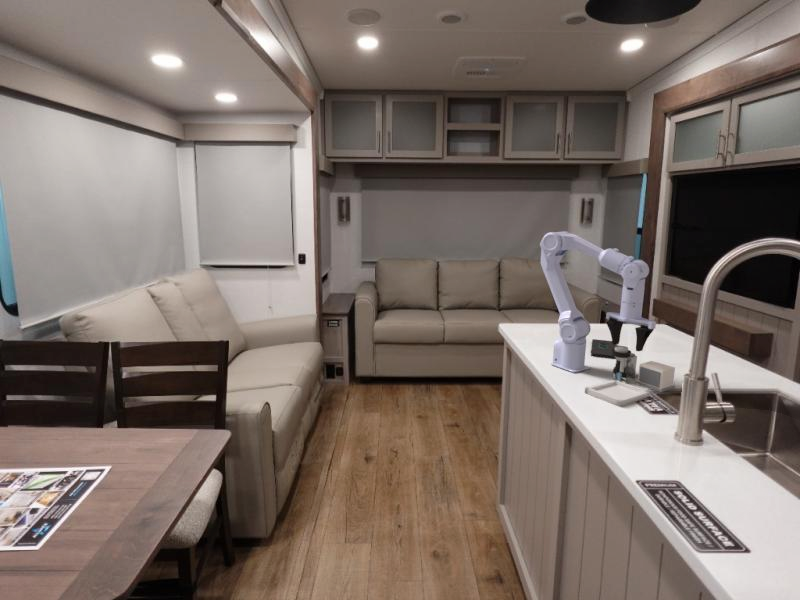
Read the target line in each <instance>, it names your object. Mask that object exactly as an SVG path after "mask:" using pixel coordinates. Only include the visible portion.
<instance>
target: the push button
mask: <svg viewBox="0 0 800 600" xmlns="http://www.w3.org/2000/svg"><path fill="white" fill-rule="evenodd" d="M611 351H612V355H613V356H614V357H616V359H615V364H614V365H615V366H614V367H613V369H612V375H611V376H612V380H617V381H620V382H623V383H626V384H627V382H626V380H627V377H628V376H627V373H625V368H624V363H625V359H626V358H628V357H630V354H631V353H632V351H631V350H630V349H629V348H628V347H627V346H623V345H615V348H614V349H612V350H611Z"/></svg>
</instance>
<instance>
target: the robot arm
mask: <svg viewBox="0 0 800 600" xmlns="http://www.w3.org/2000/svg"><path fill="white" fill-rule="evenodd" d="M539 246H540V249H541V250H540V265H541V268H542V271H543V274H544V276H545V279H546V282H547V285H548V287H549V289H550V291H551V295H552V297H553V299H554V302H555V305H556V307H557V310H558V312H559V317H558V320H557V323H558V326H559V330H558V331H559V337H558V338H557V339H556V340H555V342H554V344H553V355H552V362H551V363H550V365H551V366H553V367H557V368H559V369H561V370H562V369H563V370H566V371H568V372H570V373H574V374H575V373H579V372H582V371H587V370H589V369H591V367H590V366H588V365H585V364H586V363H585V361H586V348H587V336H589V334H590V333H591V329H592V328H591V325H590V323H589V320H586V318H585V317H584V314H583V313H582V312H581V311H580V310H579V309H578V308H577V307H576V303H575V301H574V298H573V296H572V293H571V291H570V288H569V286H568V283H567V281H566V277H565V275H564V273H563V270H562V268H561V265H560V263H561V260H562V258H563V257H564V255H565V254H566V253H567V252H568V251H569V250H575V251H577V252H579V253H582V254H585V255H587V256H590V257H592V258H594V259H596V260H598V262H599V265H600V266H601V267H603V268H606V270H609V271H611V272H613V273H615V274H617V275H620V276H621V277H622V280H623V284H622V291H621V299H620V300H621V301H620V311H619V312H614V311H613V312H612V311H609V312H606V313H605V314H606V317H605V319H606V320H607V321H606V326H607V329H609V333H610V335H611V341H612V343H613V345H615V346H617V345H619V344H620V341H621V333H622V328H623V325H624V323H626V324H631V325H635V326H637V327H635V333H636V334H635V335H636V341H635V342H636V344H635V351H636V352H641V351H643V350H644V346H645V344H646V342H647V340H648V338H649V337H650V335H651V334H652V333H653V331H654V330H655V329H656V325H657V322H656V320H655V321H654V320H650V319H648V318H644V317H642V314H643V305H644V297H645V296H644V295H645V285H646V278H647V277H648V276H649V273H650V268H649V265H648V264H647V262H646V261H644V260H643V259H635V257H634V256H632V255H626V254H624V253H622V252H620V250H619V249H618V248H615V247H614V248H606V249H603V248H601V247H600V246H597V245H596V244H594V243H592V242H590V241H588V240H587V239H584V238H582V237H581V236H578V235H577V234H574V233H570V232H569V231H567V230H564V231H556V232H555V231H550V232H547V233H545V234H544V235H543V237H542V238H541V241H540V243H539ZM638 326H639V327H638Z"/></svg>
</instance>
